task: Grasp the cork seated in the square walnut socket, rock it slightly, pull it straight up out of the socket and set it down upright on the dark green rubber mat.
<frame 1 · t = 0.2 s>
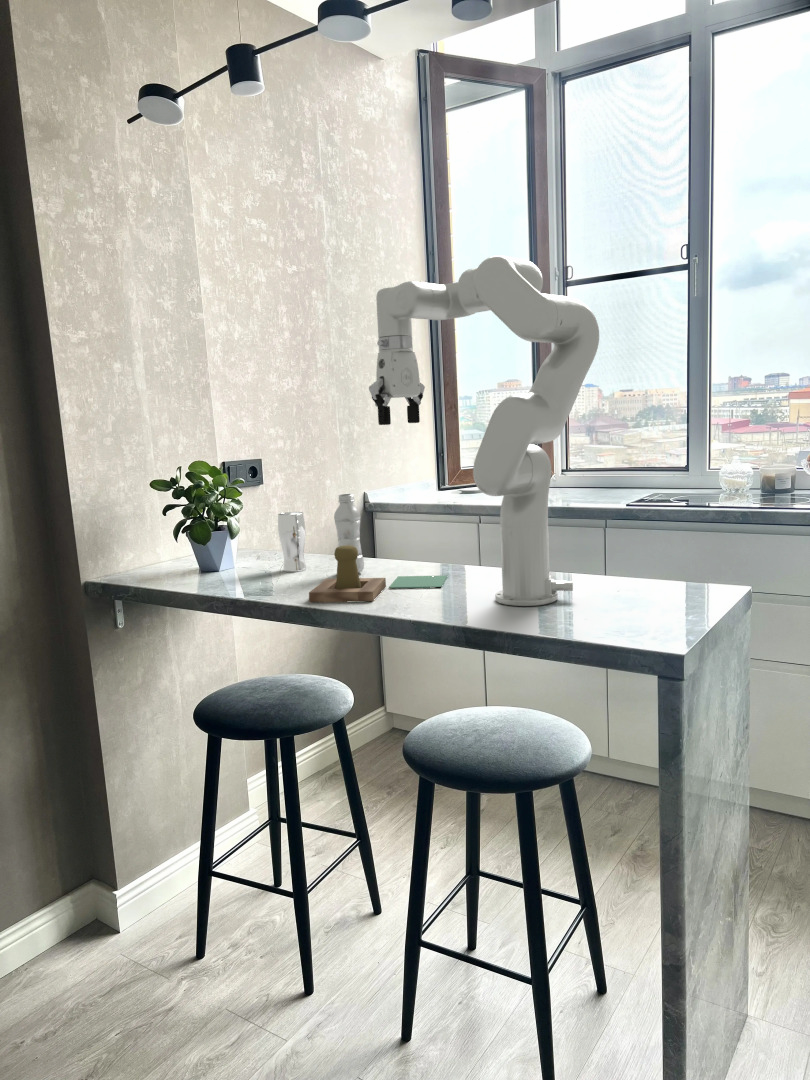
hand: (399, 423, 178), 37 cm above the countertop, tool pointing down, fingers open, 9 cm apart
mat: (418, 582, 183), on the countertop
plastic bottle: (351, 574, 198), on the countertop
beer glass: (295, 570, 207), on the countertop
cork: (349, 595, 174), resting in socket
socket: (349, 594, 174), on the countertop
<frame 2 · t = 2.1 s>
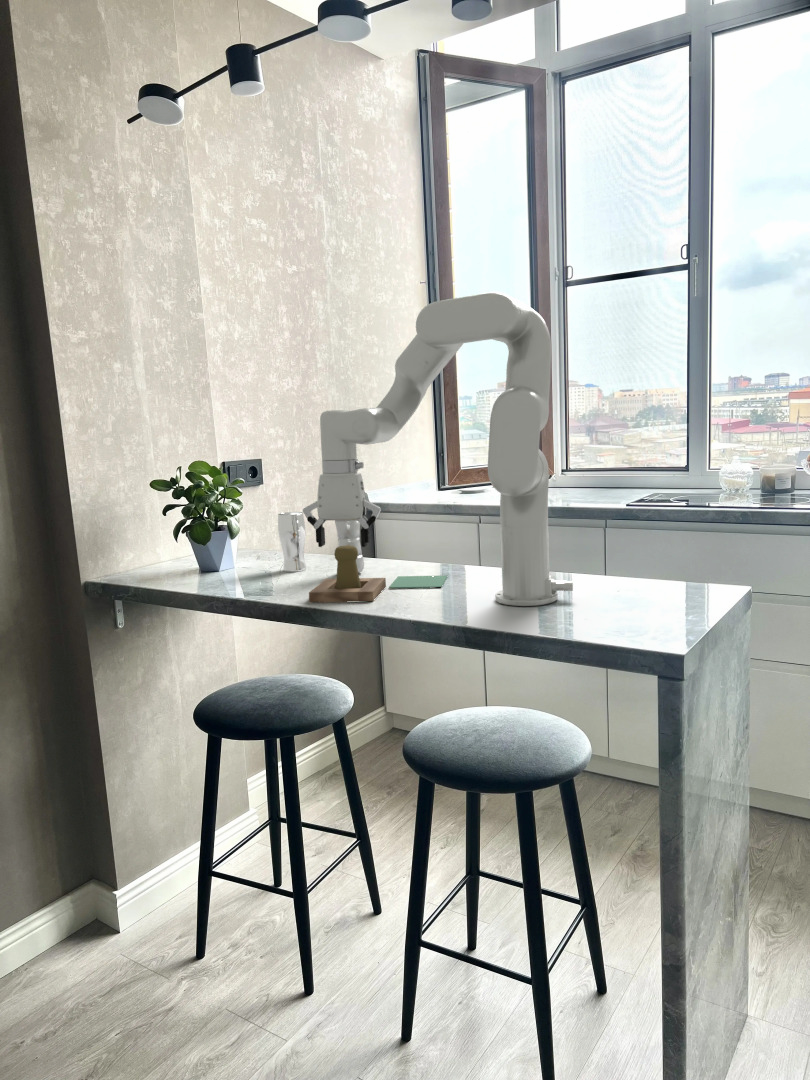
hand: (343, 545, 173), 11 cm above the countertop, tool pointing down, fingers open, 9 cm apart
nothing on the countertop moved.
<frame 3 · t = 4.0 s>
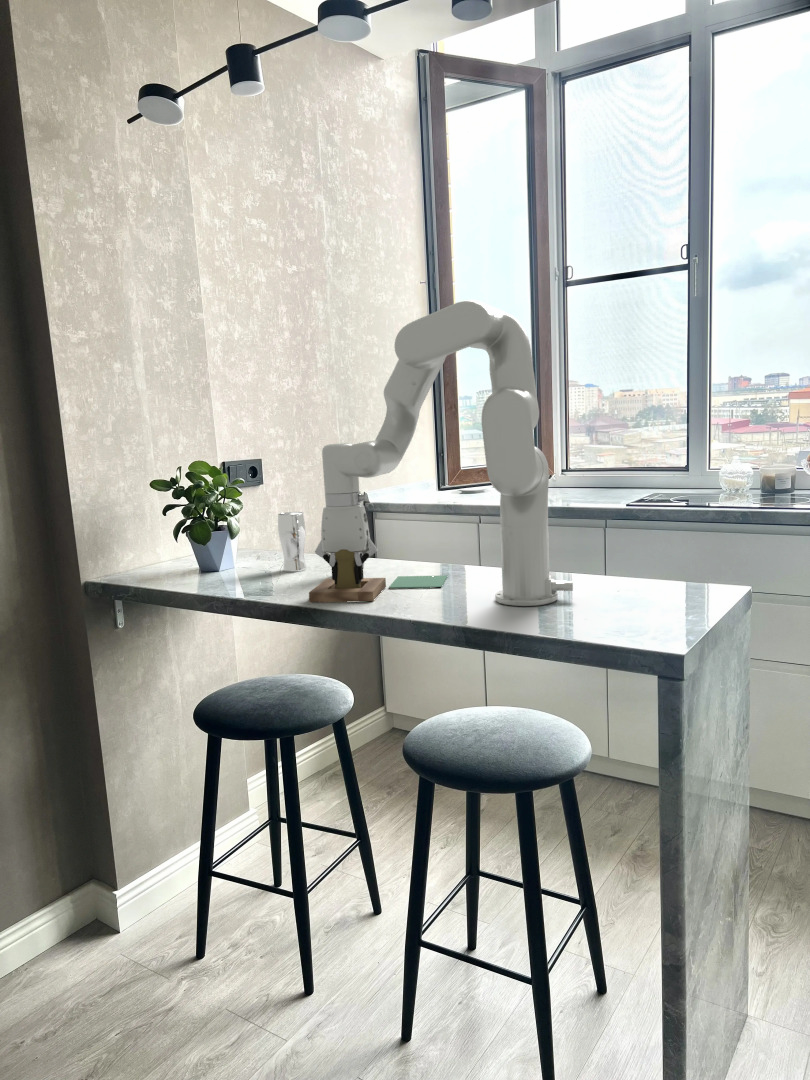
hand: (348, 582, 174), 3 cm above the countertop, tool pointing down, fingers closed on cork, 4 cm apart
cork: (348, 595, 174), resting in socket, touching gripper
everything else where it was.
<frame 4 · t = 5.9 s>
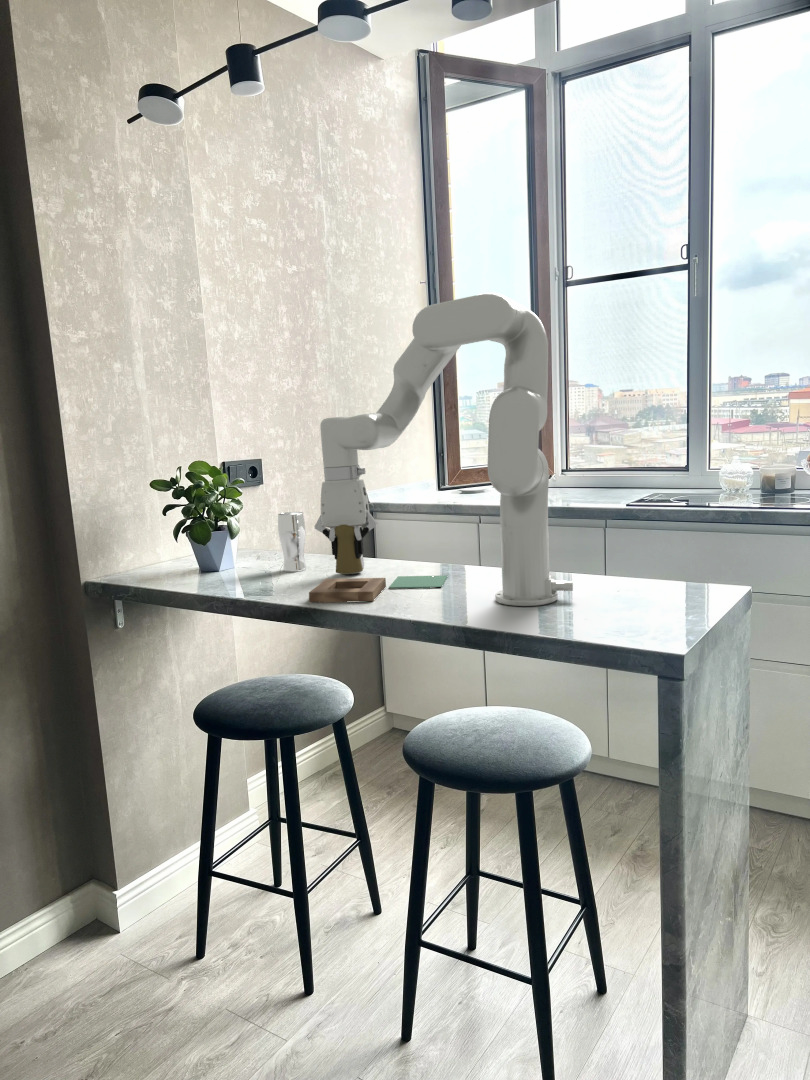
hand: (348, 557, 173), 8 cm above the countertop, tool pointing down, fingers closed on cork, 4 cm apart
cork: (349, 571, 173), point 5 cm above the countertop, touching gripper
everything else where it was.
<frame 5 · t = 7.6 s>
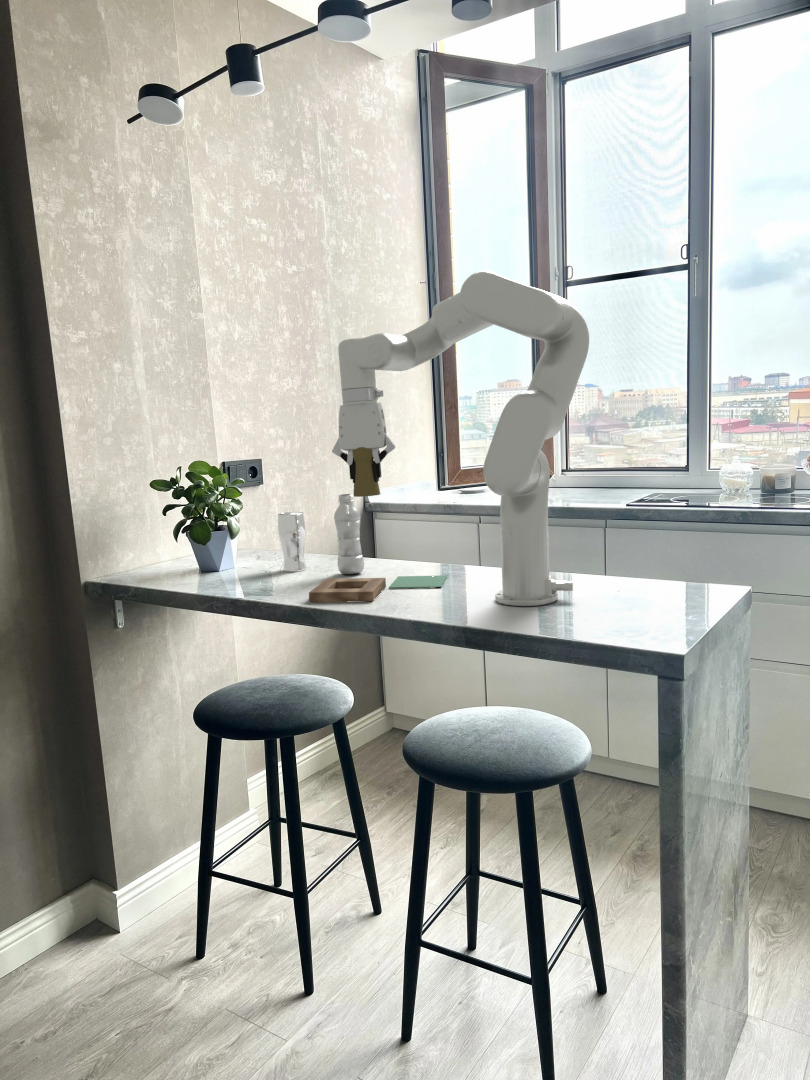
hand: (366, 481, 173), 25 cm above the countertop, tool pointing down, fingers closed on cork, 4 cm apart
cork: (367, 496, 173), point 21 cm above the countertop, touching gripper
everything else where it was.
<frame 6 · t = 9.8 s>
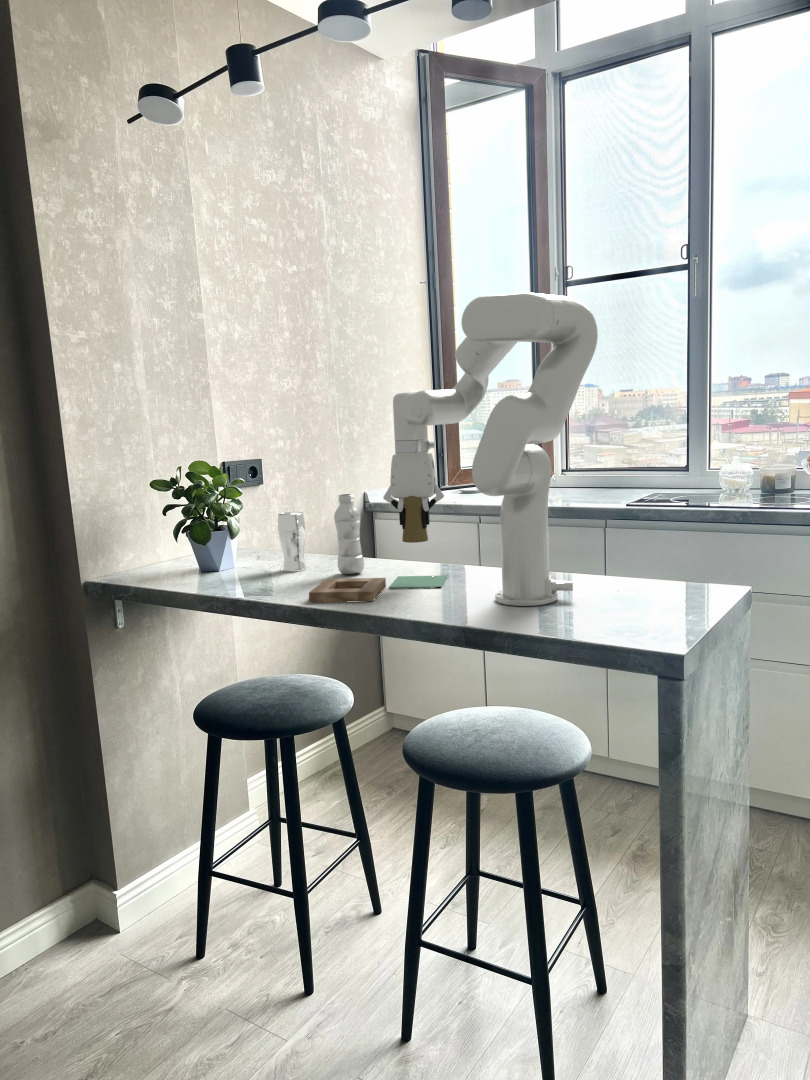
hand: (414, 527, 181), 13 cm above the countertop, tool pointing down, fingers closed on cork, 4 cm apart
cork: (415, 541, 181), point 10 cm above the countertop, touching gripper
everything else where it was.
when the fingers open (4 cm above the countertop, at t = 11.5 s): cork stays where it is, resting on mat.
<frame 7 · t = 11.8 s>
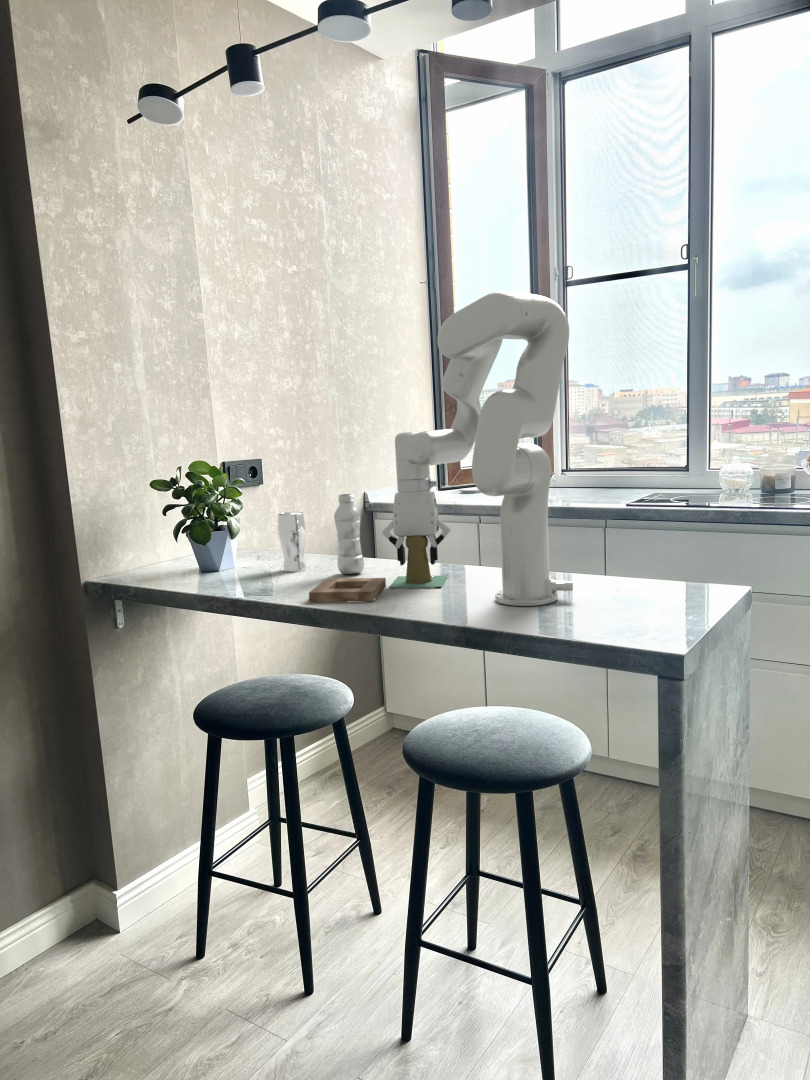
hand: (417, 563, 182), 5 cm above the countertop, tool pointing down, fingers open, 6 cm apart
cork: (418, 582, 183), resting on mat
everything else where it was.
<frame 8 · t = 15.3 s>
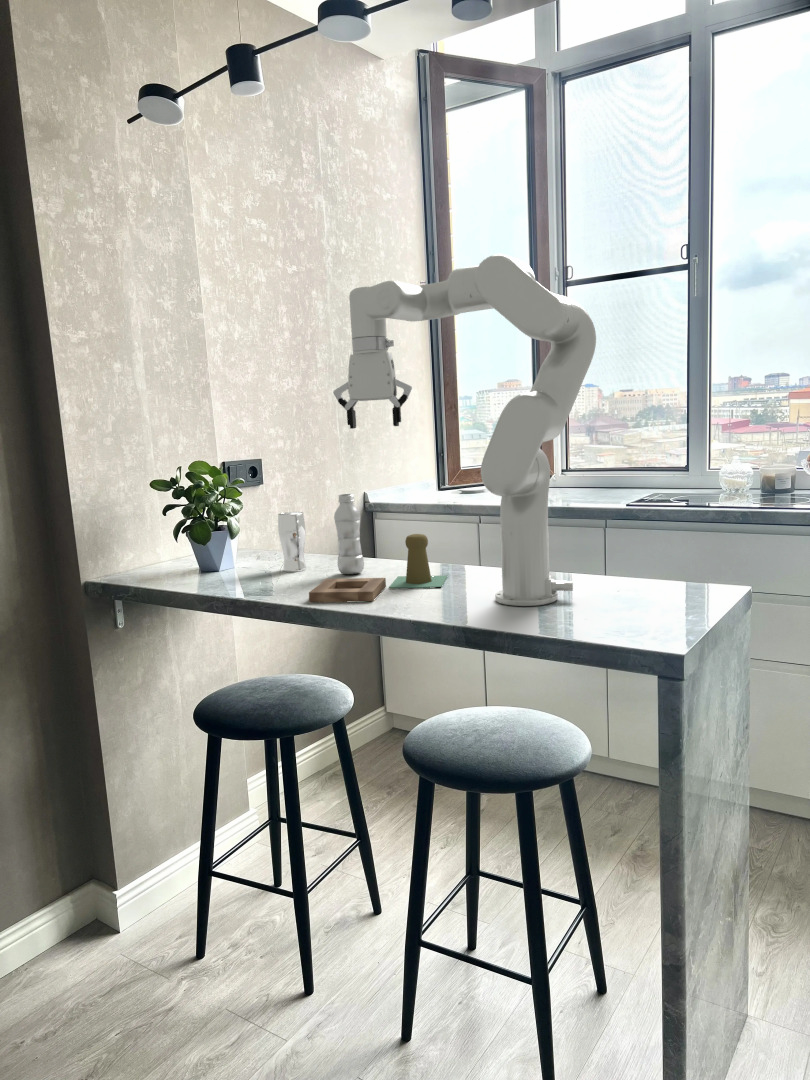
hand: (374, 427, 172), 36 cm above the countertop, tool pointing down, fingers open, 9 cm apart
nothing on the countertop moved.
at the end: cork inside the target area on the mat (0.0 cm from its centre), point 0.2 cm above the mat's base; cork tilted 0°; the gripper is holding nothing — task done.
